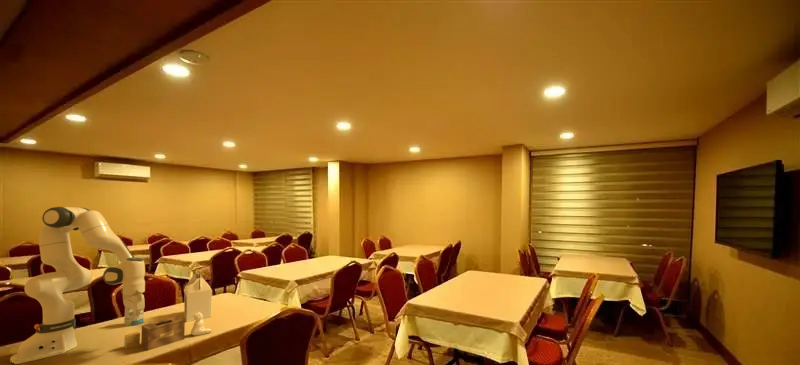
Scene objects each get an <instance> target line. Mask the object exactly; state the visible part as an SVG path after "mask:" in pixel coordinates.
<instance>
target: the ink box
mask: <svg viewBox="0 0 800 365" xmlns="http://www.w3.org/2000/svg"><path fill="white" fill-rule="evenodd" d="M144 310H145V309H144ZM144 310H141V312H140V317H139V319H134V315H135V311H134V310H133V315H132V316H129V315H128V310H127V307H126V306H124V320H123V321H124V322H123V325H124V326H138V325H140V324H143V323H144Z"/></svg>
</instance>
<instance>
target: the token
mask: <svg viewBox="0 0 800 365" xmlns="http://www.w3.org/2000/svg"><path fill="white" fill-rule="evenodd" d="M123 342H124V343H123V344H124V345H123V347H124V349H126V350H128V349H131V348H134V347H137V346H140V344H141V332H139V331H136V332H132V333H129V334H125V335H124V341H123Z"/></svg>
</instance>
